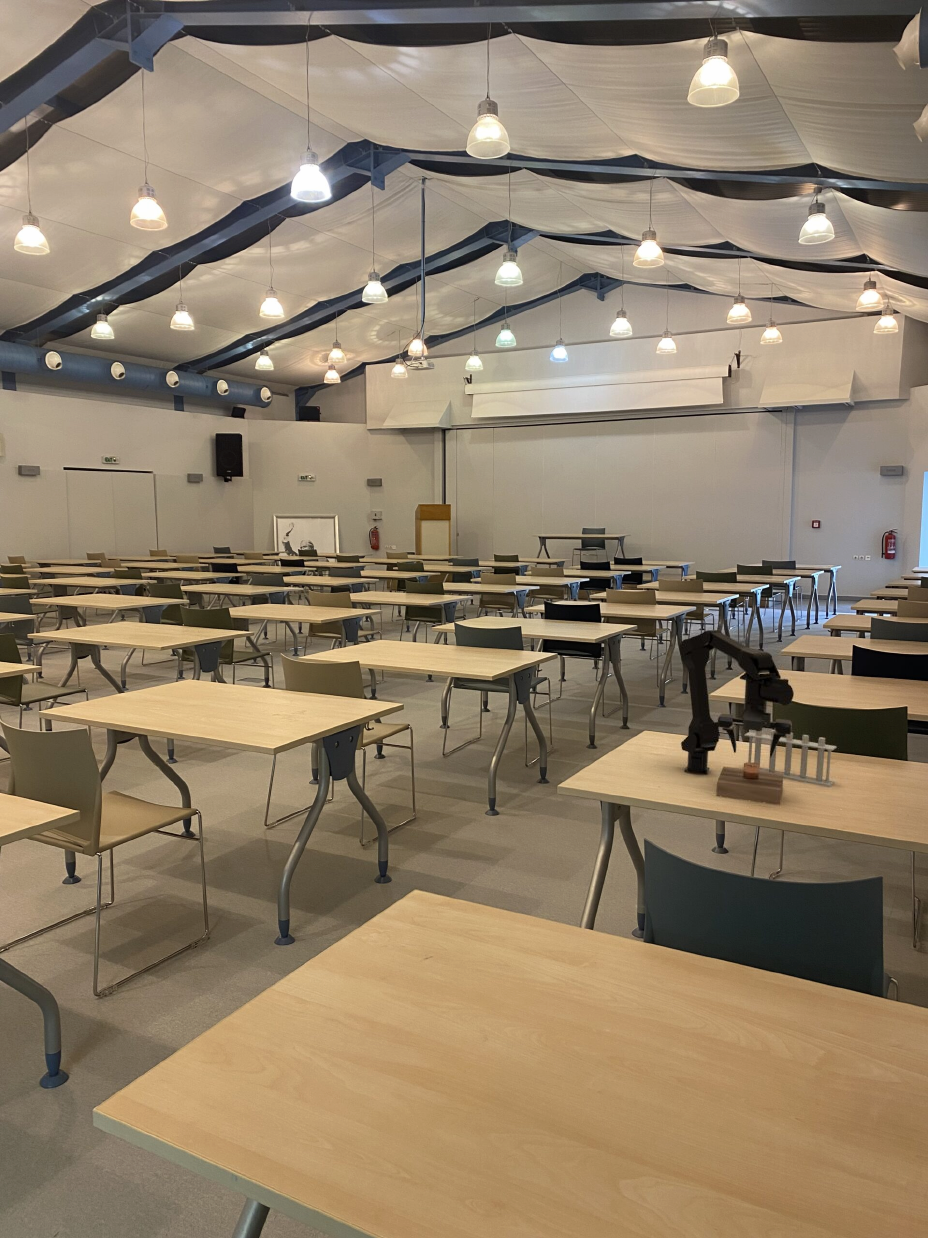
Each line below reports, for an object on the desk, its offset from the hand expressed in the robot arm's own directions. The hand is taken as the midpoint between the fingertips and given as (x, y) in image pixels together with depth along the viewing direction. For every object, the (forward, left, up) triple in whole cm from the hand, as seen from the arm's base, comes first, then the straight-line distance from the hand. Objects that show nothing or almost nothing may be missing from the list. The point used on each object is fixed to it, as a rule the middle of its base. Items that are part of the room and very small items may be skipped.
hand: (752, 754), depth 226 cm
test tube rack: (-20, +9, -11) cm, 25 cm away
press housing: (0, 0, -11) cm, 11 cm away
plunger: (0, 0, -10) cm, 10 cm away
